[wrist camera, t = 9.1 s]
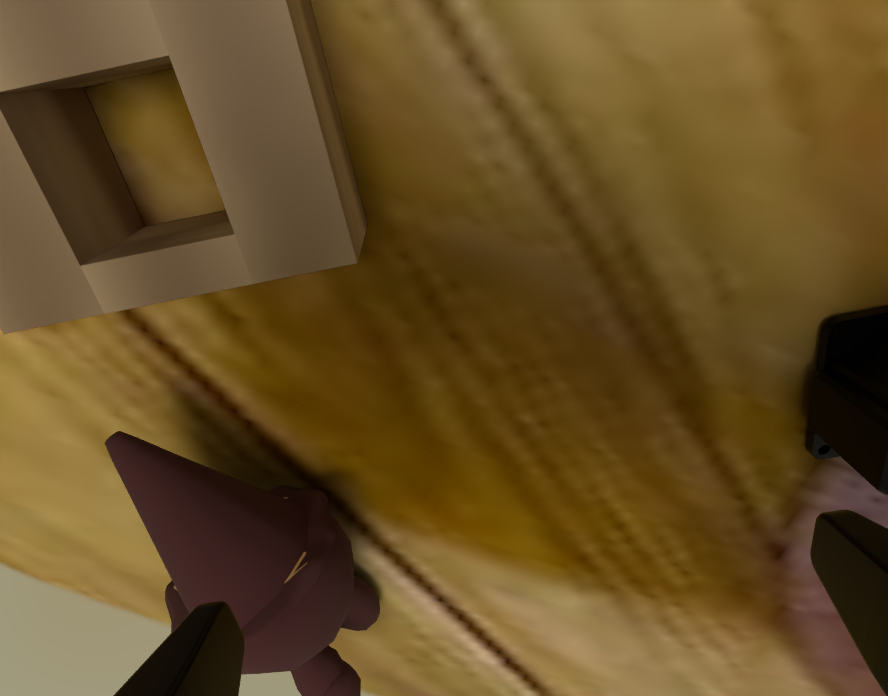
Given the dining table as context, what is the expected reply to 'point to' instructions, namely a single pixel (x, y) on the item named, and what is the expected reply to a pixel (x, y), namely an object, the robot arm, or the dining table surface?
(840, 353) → the robot arm
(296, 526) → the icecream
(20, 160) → the socket block
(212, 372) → the dining table surface
